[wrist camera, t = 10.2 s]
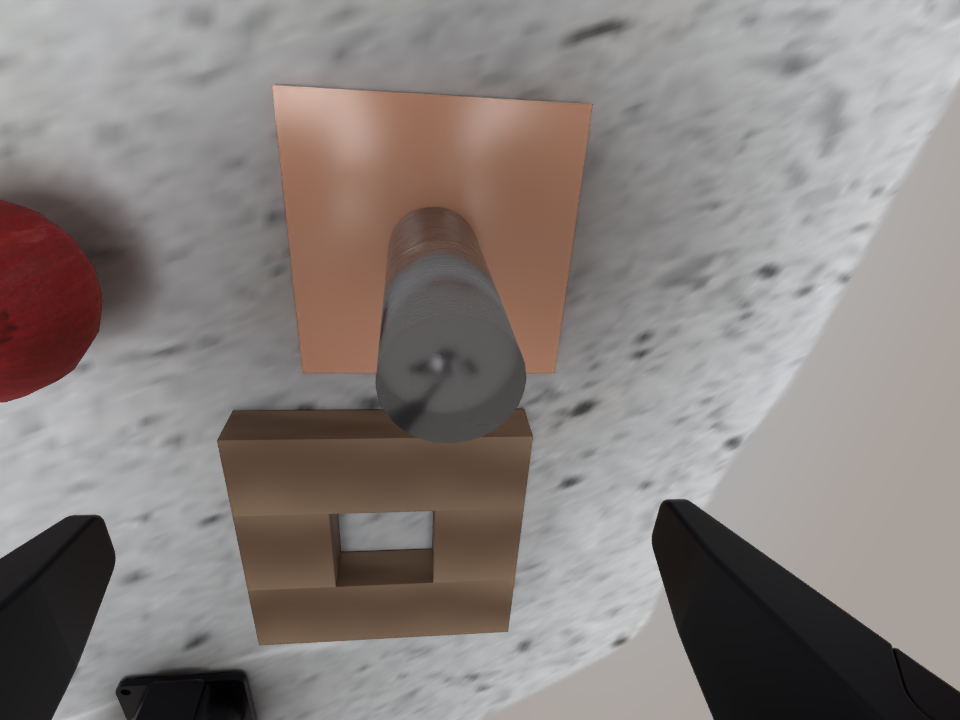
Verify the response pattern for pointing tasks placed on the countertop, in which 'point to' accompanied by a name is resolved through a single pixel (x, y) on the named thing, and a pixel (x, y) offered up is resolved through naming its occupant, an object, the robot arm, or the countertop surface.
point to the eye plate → (372, 489)
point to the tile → (419, 184)
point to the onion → (42, 302)
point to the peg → (444, 334)
